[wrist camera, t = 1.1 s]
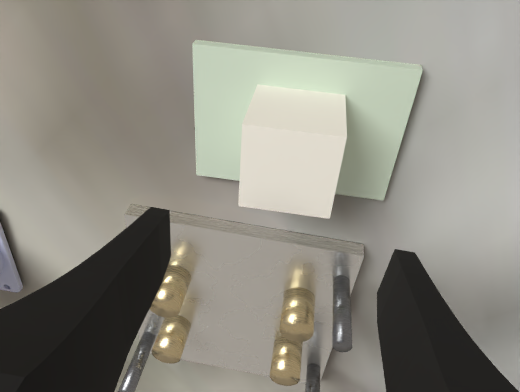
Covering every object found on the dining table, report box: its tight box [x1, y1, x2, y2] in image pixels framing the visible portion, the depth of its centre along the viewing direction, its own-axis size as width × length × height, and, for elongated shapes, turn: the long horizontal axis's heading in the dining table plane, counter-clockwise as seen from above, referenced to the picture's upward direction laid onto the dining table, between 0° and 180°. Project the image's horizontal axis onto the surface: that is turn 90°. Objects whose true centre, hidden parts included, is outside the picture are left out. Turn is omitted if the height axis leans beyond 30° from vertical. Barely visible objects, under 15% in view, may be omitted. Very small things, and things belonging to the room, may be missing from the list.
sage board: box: [192, 40, 423, 219], centre depth 19 cm, size 10×7×5 cm
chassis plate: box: [118, 204, 364, 392], centre depth 27 cm, size 14×14×6 cm
